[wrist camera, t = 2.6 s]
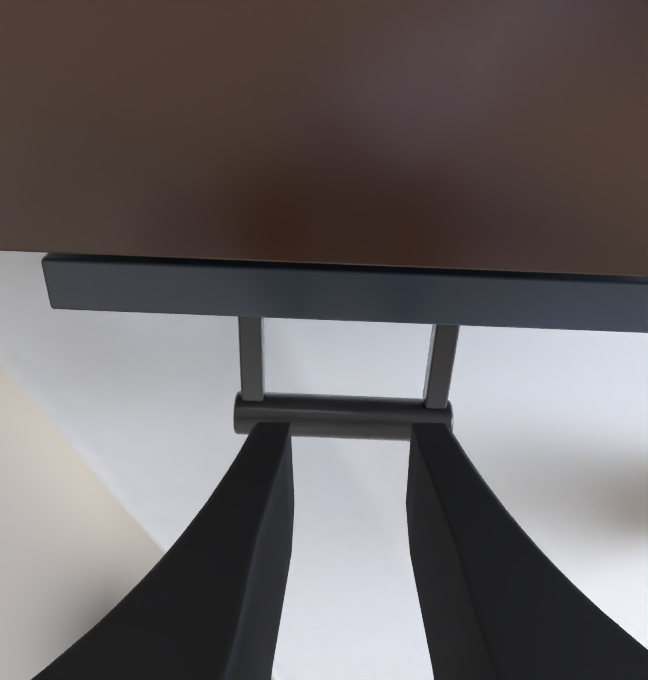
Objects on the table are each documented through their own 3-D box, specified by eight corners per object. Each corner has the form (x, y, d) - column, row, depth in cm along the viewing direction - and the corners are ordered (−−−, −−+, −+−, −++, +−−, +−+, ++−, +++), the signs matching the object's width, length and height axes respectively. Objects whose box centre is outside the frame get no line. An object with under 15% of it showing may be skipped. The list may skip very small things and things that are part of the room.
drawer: (537, 373, 21) (598, 496, 16) (145, 357, 21) (85, 475, 16) (740, -438, 12) (1035, -742, 7) (36, -464, 12) (-188, -787, 7)
